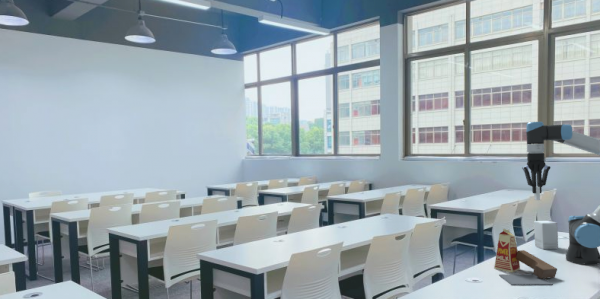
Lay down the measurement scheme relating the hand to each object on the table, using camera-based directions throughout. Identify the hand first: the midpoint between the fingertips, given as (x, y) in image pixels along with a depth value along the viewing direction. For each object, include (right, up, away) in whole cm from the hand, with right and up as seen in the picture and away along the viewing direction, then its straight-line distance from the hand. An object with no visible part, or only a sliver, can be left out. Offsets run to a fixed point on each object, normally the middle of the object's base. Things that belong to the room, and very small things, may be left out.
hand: (537, 199), depth 211 cm
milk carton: (-18, -33, -5) cm, 38 cm away
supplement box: (+24, -32, +34) cm, 53 cm away
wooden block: (-8, -30, -24) cm, 39 cm away
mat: (-19, -33, -23) cm, 45 cm away
